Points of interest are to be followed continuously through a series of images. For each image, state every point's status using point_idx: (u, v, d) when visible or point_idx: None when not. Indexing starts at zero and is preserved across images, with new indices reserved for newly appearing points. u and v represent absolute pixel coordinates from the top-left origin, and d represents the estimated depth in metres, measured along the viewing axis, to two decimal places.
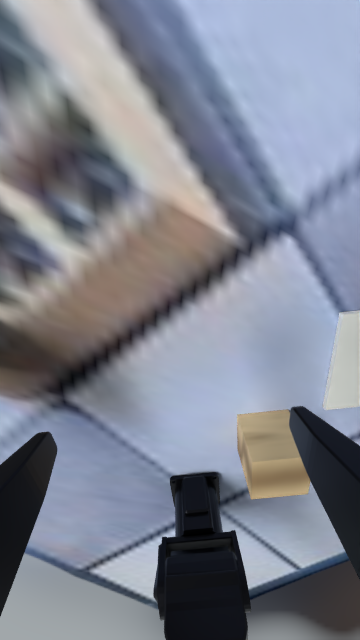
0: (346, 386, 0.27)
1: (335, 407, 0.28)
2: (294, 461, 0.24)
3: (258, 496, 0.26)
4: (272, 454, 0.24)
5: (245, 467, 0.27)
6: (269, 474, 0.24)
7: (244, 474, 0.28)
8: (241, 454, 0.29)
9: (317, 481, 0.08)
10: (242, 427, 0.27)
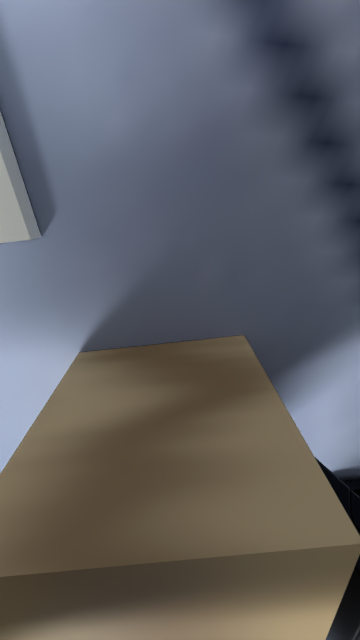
0: None
1: (4, 195, 0.06)
2: (21, 632, 0.04)
3: None
4: None
5: None
6: None
7: None
8: None
9: None
10: None
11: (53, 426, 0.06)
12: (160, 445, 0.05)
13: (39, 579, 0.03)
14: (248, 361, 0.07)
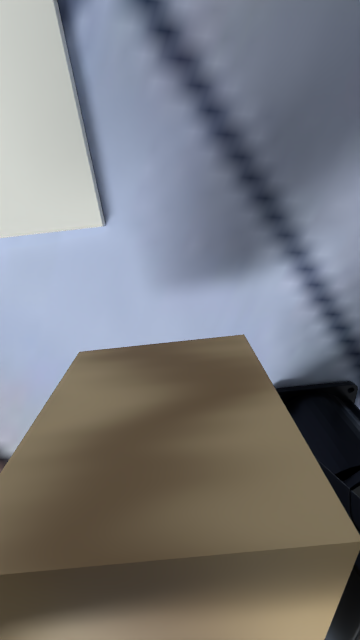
0: (32, 195, 0.12)
1: (92, 204, 0.13)
2: (21, 630, 0.04)
3: None
4: None
5: None
6: None
7: None
8: None
9: None
10: None
11: (53, 425, 0.06)
12: (160, 443, 0.05)
13: (39, 576, 0.03)
14: (248, 360, 0.07)
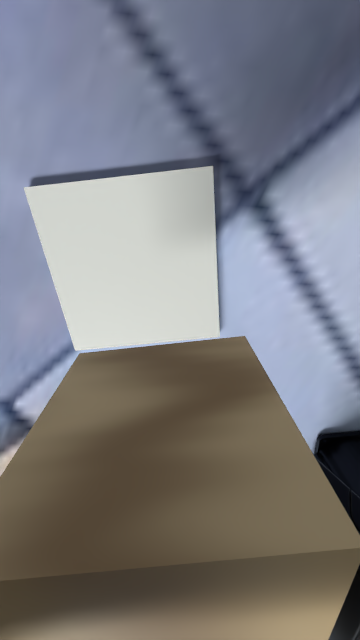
0: (178, 320, 0.19)
1: (216, 324, 0.19)
2: (21, 636, 0.04)
3: None
4: None
5: None
6: None
7: None
8: None
9: None
10: None
11: (53, 428, 0.06)
12: (161, 447, 0.05)
13: (40, 582, 0.03)
14: (249, 362, 0.07)
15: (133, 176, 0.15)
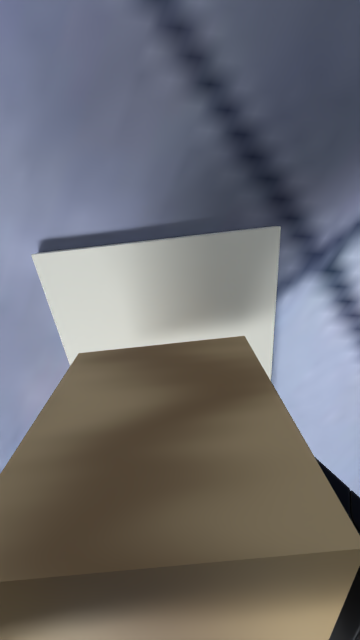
0: None
1: None
2: (18, 637, 0.04)
3: None
4: None
5: None
6: None
7: None
8: None
9: None
10: None
11: (52, 428, 0.06)
12: (160, 447, 0.05)
13: (37, 584, 0.03)
14: (249, 362, 0.07)
15: (176, 240, 0.12)
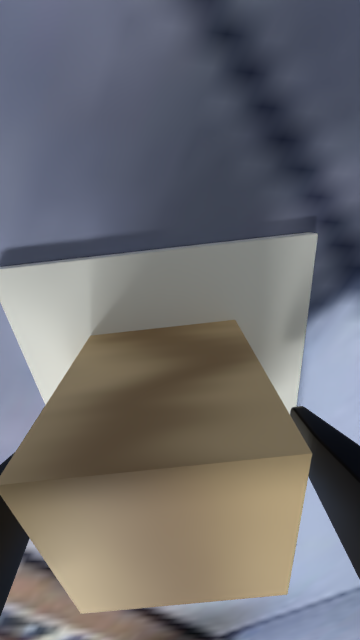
0: None
1: None
2: (55, 537, 0.05)
3: (272, 583, 0.07)
4: None
5: None
6: (144, 578, 0.06)
7: None
8: None
9: (317, 481, 0.08)
10: None
11: (74, 389, 0.07)
12: (162, 399, 0.06)
13: (74, 482, 0.05)
14: (237, 339, 0.09)
15: (178, 251, 0.09)
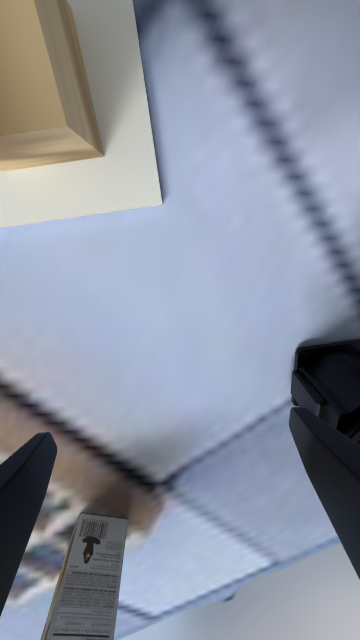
0: (105, 178, 0.15)
1: (155, 185, 0.15)
2: None
3: (46, 100, 0.09)
4: None
5: (44, 147, 0.11)
6: None
7: (86, 143, 0.11)
8: (64, 153, 0.13)
9: (317, 481, 0.08)
10: None
11: None
12: None
13: None
14: None
15: None
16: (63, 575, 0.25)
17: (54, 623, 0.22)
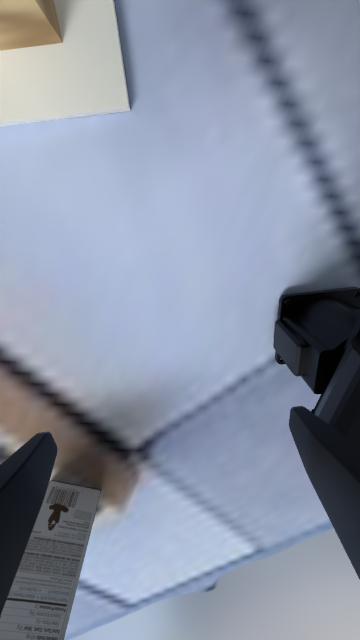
0: (64, 71, 0.13)
1: (120, 82, 0.14)
2: None
3: None
4: None
5: None
6: None
7: None
8: (9, 19, 0.11)
9: (317, 481, 0.08)
10: None
11: None
12: None
13: None
14: None
15: None
16: None
17: None
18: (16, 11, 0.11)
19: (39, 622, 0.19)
